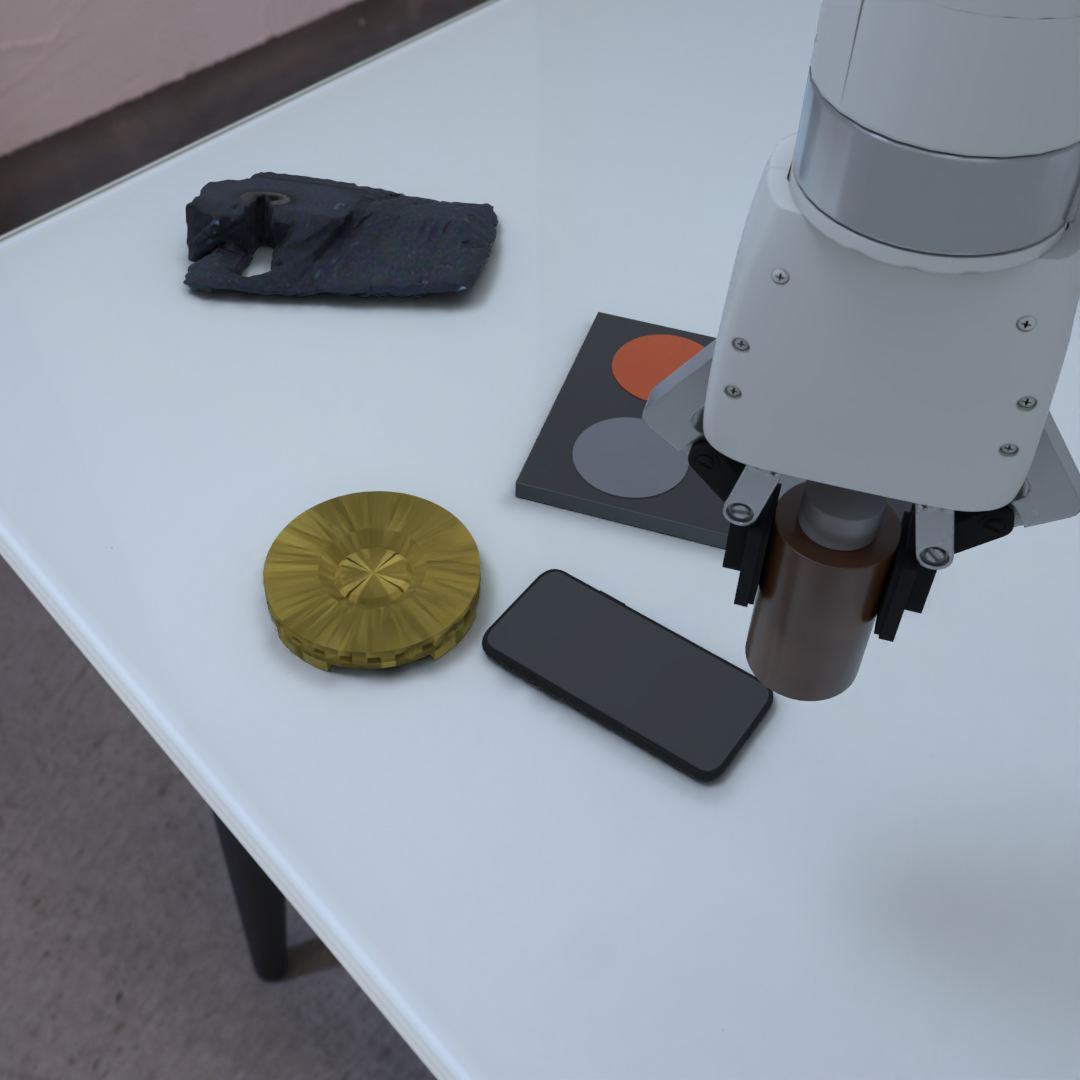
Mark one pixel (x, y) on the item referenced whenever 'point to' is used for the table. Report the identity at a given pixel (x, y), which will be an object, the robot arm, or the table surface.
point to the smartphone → (629, 673)
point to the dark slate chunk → (333, 238)
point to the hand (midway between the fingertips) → (818, 591)
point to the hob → (626, 439)
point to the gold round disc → (372, 581)
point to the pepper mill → (820, 589)
